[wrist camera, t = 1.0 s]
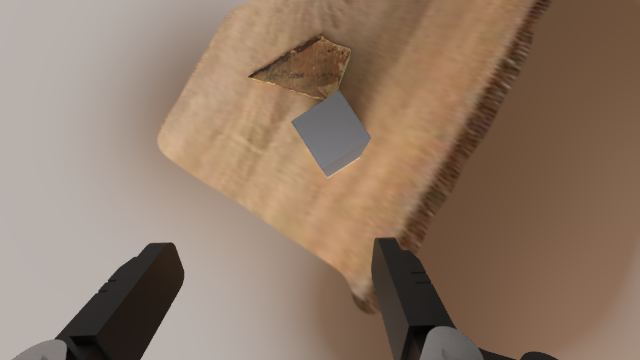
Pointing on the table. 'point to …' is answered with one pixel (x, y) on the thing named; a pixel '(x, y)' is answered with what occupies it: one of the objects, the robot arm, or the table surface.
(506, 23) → the table surface
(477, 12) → the table surface
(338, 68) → the shard
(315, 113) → the sanding block
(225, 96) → the table surface
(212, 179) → the table surface
